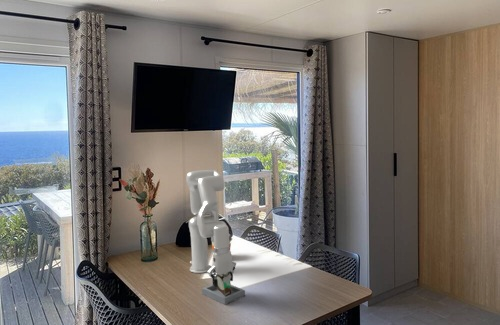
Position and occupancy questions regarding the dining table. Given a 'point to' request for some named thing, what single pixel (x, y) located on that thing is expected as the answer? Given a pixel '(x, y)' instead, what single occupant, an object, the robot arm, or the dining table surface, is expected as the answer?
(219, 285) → the food container
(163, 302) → the dining table surface
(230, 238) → the reusable coffee cup
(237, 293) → the tray
